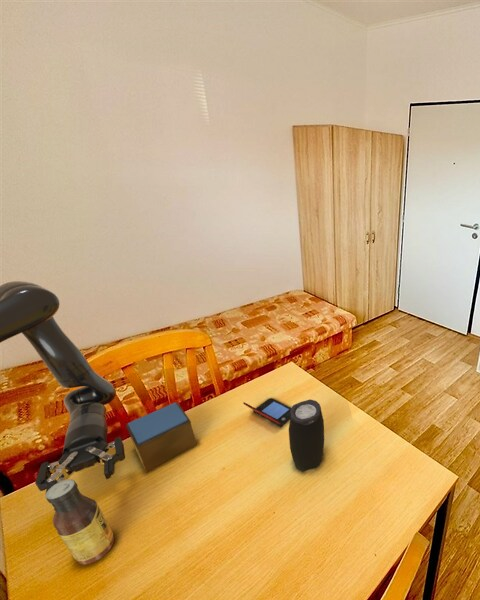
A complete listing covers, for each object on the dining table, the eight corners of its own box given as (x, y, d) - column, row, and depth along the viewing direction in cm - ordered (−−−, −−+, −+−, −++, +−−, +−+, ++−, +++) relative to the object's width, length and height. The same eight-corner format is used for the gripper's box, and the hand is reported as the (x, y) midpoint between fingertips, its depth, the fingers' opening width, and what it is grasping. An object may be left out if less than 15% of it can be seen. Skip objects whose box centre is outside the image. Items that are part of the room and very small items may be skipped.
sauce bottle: (122, 542, 69) (92, 483, 61) (86, 573, 64) (48, 512, 56) (104, 527, 72) (74, 468, 63) (69, 555, 67) (30, 495, 58)
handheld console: (297, 413, 107) (296, 396, 104) (272, 435, 98) (270, 417, 95) (270, 399, 112) (268, 382, 108) (244, 419, 103) (241, 401, 100)
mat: (138, 444, 80) (137, 443, 80) (128, 424, 85) (127, 423, 85) (187, 420, 88) (187, 419, 88) (175, 403, 93) (175, 402, 93)
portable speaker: (285, 465, 89) (280, 413, 81) (308, 442, 97) (306, 392, 89) (308, 480, 86) (305, 428, 78) (330, 455, 93) (330, 405, 85)
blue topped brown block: (146, 473, 84) (136, 447, 80) (135, 450, 89) (125, 424, 85) (197, 446, 92) (190, 420, 88) (184, 426, 98) (177, 402, 94)
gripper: (39, 438, 74) (25, 494, 62) (119, 413, 82) (119, 458, 71) (51, 460, 77) (40, 517, 66) (127, 434, 85) (128, 480, 74)
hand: (81, 486), depth 68 cm, fingers open, 8 cm apart
